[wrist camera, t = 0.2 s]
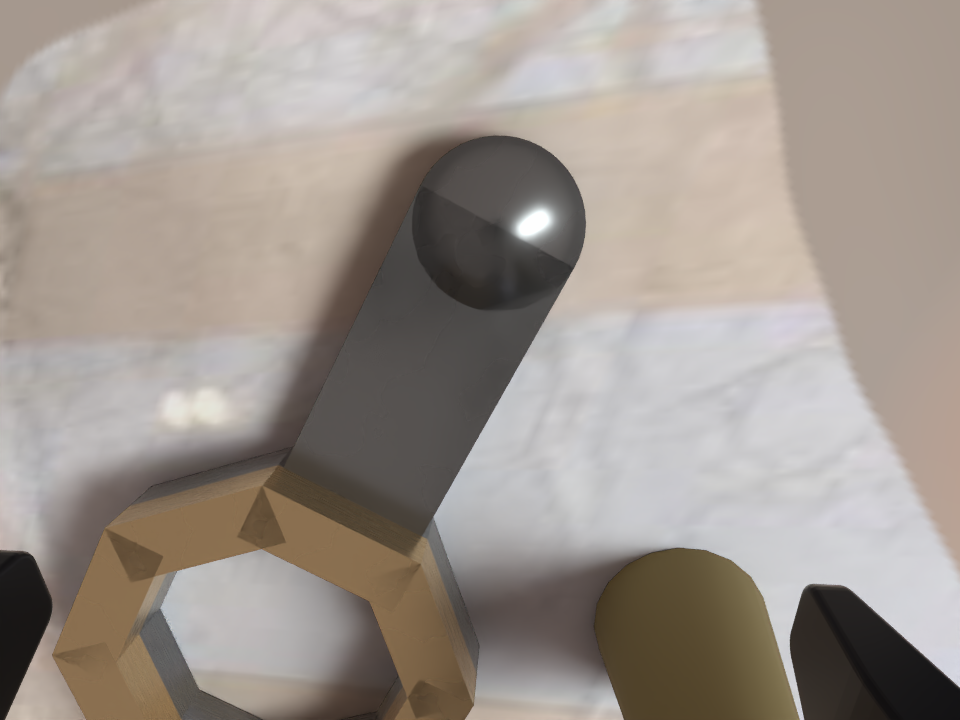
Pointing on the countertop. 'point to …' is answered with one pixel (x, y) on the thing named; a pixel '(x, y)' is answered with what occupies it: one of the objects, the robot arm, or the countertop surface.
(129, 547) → the upper chain end
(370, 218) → the countertop surface
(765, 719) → the cork
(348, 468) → the lower chain end
